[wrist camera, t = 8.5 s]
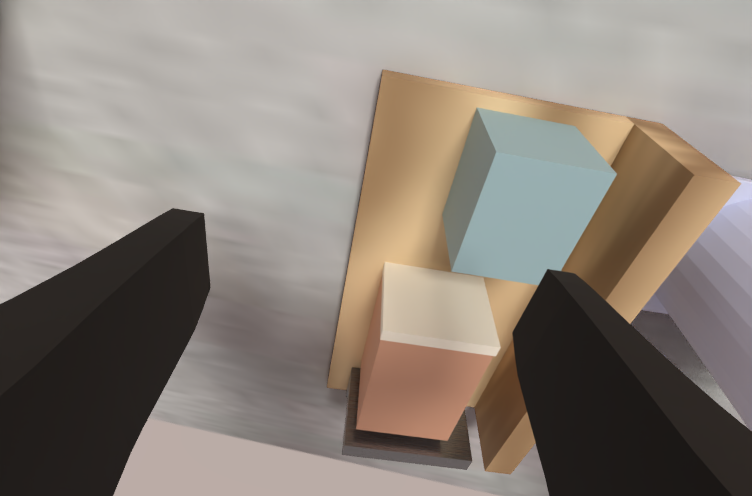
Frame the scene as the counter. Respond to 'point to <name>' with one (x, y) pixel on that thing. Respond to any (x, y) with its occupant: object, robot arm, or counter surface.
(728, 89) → the counter surface
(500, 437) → the shelf
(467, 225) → the pale blue cube
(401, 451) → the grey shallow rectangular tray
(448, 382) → the boxed book
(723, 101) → the counter surface
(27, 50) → the counter surface
